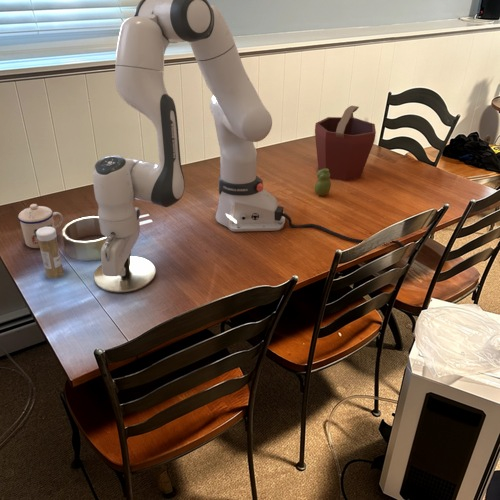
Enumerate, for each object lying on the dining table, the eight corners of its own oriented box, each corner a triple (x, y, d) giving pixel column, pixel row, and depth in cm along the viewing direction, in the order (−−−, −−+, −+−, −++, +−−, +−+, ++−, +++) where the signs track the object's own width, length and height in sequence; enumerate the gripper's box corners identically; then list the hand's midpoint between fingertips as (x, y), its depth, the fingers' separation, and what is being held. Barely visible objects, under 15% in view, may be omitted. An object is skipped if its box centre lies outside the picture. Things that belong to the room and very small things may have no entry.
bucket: (331, 156, 206) (339, 96, 192) (380, 169, 195) (392, 107, 182) (301, 174, 189) (307, 110, 175) (353, 190, 178) (364, 122, 165)
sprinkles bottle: (66, 276, 127) (57, 231, 120) (48, 281, 125) (38, 236, 118) (61, 268, 130) (52, 224, 123) (44, 273, 128) (33, 228, 121)
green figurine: (321, 199, 170) (325, 173, 165) (310, 194, 174) (313, 168, 168) (332, 195, 174) (335, 169, 168) (321, 190, 177) (324, 164, 172)
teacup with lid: (34, 253, 136) (25, 216, 130) (18, 240, 141) (9, 204, 135) (73, 237, 143) (66, 202, 137) (57, 226, 149) (50, 192, 142)
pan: (125, 237, 145) (123, 218, 141) (109, 264, 132) (107, 244, 129) (77, 233, 146) (74, 214, 142) (57, 260, 133) (53, 240, 130)
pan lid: (161, 261, 133) (160, 245, 131) (147, 296, 120) (145, 279, 117) (105, 257, 134) (103, 242, 131) (85, 292, 121) (82, 275, 118)
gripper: (118, 246, 110) (125, 295, 117) (141, 205, 127) (146, 250, 134) (90, 245, 110) (99, 293, 117) (118, 203, 127) (124, 248, 135)
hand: (124, 270), depth 126 cm, fingers closed on pan lid, 2 cm apart
